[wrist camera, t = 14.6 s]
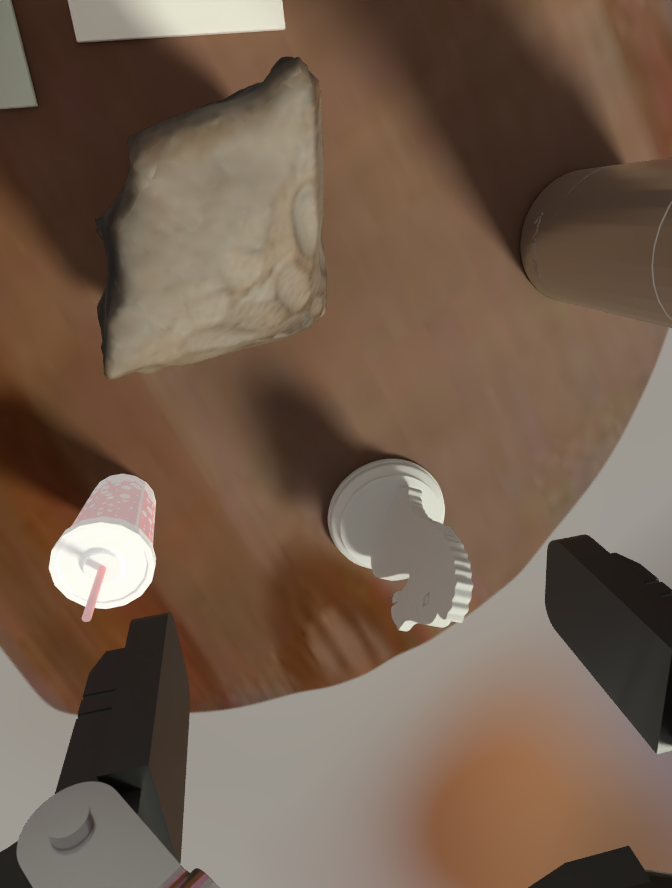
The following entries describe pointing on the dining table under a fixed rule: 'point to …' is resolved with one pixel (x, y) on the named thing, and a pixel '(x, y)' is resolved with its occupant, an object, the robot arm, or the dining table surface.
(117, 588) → the beverage cup
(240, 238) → the owl
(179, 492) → the dining table surface
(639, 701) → the robot arm
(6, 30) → the sage mat
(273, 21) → the tile
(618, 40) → the dining table surface
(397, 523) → the chess piece
